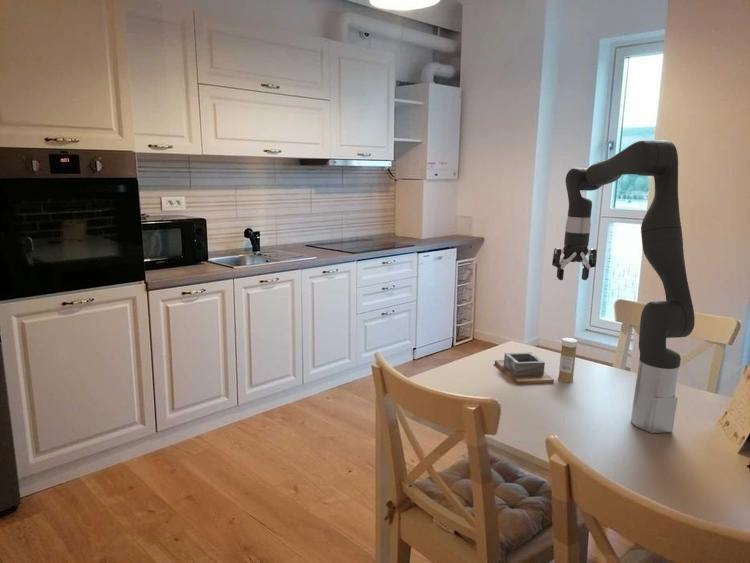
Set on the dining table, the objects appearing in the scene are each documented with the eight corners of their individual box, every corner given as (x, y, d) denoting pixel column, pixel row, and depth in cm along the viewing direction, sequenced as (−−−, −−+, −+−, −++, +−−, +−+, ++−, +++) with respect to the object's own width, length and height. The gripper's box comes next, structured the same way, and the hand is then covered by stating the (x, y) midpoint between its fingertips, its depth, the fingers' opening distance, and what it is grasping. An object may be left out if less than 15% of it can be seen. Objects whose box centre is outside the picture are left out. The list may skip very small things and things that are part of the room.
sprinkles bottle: (575, 380, 171) (580, 339, 168) (568, 384, 168) (573, 342, 165) (562, 376, 174) (566, 336, 171) (555, 379, 171) (559, 339, 168)
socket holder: (553, 383, 168) (555, 367, 167) (517, 384, 166) (518, 368, 165) (528, 362, 185) (529, 348, 184) (494, 363, 183) (495, 349, 182)
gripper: (563, 232, 171) (557, 282, 174) (604, 232, 173) (598, 282, 177) (551, 229, 178) (546, 277, 182) (591, 229, 181) (585, 277, 184)
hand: (572, 279), depth 179 cm, fingers open, 8 cm apart
